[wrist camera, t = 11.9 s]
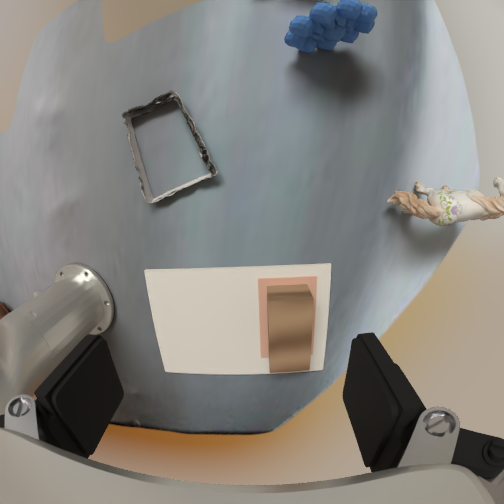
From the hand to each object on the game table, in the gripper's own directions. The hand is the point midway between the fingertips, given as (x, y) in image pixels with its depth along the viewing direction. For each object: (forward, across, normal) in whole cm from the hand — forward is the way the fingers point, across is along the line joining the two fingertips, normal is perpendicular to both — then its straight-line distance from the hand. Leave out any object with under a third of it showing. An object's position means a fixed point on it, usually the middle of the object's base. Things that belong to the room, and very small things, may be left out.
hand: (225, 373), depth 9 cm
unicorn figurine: (+28, -28, -7) cm, 40 cm away
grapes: (+28, -11, -27) cm, 41 cm away
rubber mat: (+28, +2, +14) cm, 32 cm away
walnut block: (+28, -5, +13) cm, 31 cm away
